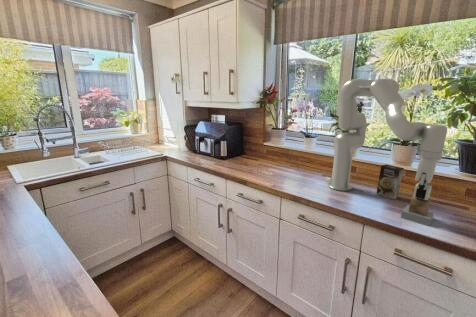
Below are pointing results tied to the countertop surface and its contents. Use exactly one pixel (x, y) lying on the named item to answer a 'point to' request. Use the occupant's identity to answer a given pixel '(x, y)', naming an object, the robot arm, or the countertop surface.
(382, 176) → the coffee box
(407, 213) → the plinth
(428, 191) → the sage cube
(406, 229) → the countertop surface
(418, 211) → the walnut block
